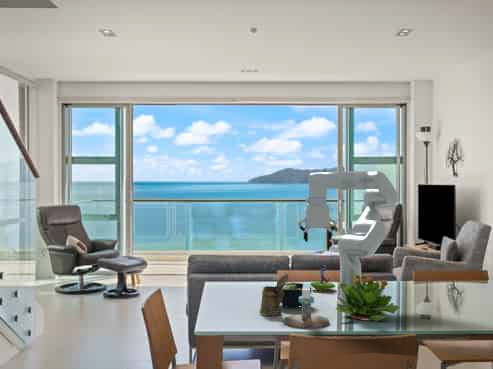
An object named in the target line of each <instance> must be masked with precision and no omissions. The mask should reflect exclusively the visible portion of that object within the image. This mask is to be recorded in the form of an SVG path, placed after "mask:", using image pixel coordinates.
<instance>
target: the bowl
mask: <svg viewBox="0 0 493 369" xmlns="http://www.w3.org/2000/svg"><path fill="white" fill-rule="evenodd" d="M276 286H277V285H275V286H274V287H276ZM282 289H283V293H284V295H283V299H282V301H281V303H280V304H282V306H283V307H284V306H287V307H299V306H302V303H299V297H300V296H302V289H303V283H301V282H300V283H299V282H289V283H288V282H286V283H285V284H284V285H283V286H282ZM311 294H312V286H310V295H311ZM278 296H279V297H280V294H279V295H278ZM287 307H286V308H287ZM299 308H300V307H299Z"/></svg>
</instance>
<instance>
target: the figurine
mask: <svg viewBox="0 0 493 369" xmlns="http://www.w3.org/2000/svg"><path fill="white" fill-rule="evenodd" d="M324 261H325V260H323V259H321V260H319V266H318V267H319V269H320V270H319V273H317V272H315V275H320V279H321V280H317V281H312V282H310V283H309V284H310V287H311V288H314V289H315V290H316V291H320V290H321V291H320V292H322V290H323V291H326V290H330V289H333V288H336V285H335V284H334V283H332V282H329V281H330V278H327V279H326V277H325V276H324V272H325V270H326V267H328V265H326V264H324Z"/></svg>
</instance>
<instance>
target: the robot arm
mask: <svg viewBox="0 0 493 369" xmlns="http://www.w3.org/2000/svg"><path fill="white" fill-rule="evenodd" d="M327 190H328V191H330V190H331V191H332V190H333V191H335V190H341V191H357V190H358V191H359V190H361V191H362V190H363V191H364V190H365V191H364V192H363V197H362V198H363V207H364V208H363V212H362V214H361V215H360V216H359V217H358V219H357V220H356V222H355V223H354V225H353V226H352V228H351V234H344V235H342V236H340V237H339V239H338V242H337V251H338V255H339V256H338V257H339V286H340V284H341V283H343V284H344V283H345V284H346V285H351V287H352V285H354V286H355V285H356V284H354V283H353V280H355V275H360V277H361V276H362V263H361V261H360V259H359V258H365V259H366V258H371V257H372V256H373V255H374V254H375V253H376V252H377V250H378V249H379V247H380V246H381V244H382V243H383V241H385V239H386V236H387V226H386V223H385V222H384V221H381V213H380V211H379V208H378V206H381V207H382V206H383V207H392V206H394V205H396V204H397V202H398V199H399V197H398V191H397V190H396V188H395V186H394V185H393V183H392V182H391V180H390V179H389V178H388V176H387V175H386V174H385V173H383V172H382V171H377V170H374V171H371V170H369V171H368V170H366V171H364V170H361V171H359V170H358V171H356V170H355V171H354V170H353V171H352V170H349V171H348V170H347V171H337V172H330V171H329V172H322V171H321V172H312V173H309V175H308V198H305V199H304V201H305V203H307V205H306V208H305V210H306V211H305V218H302V219H301V220H298V221H297V223H296V224H297V226H298V227H299V229H300V230H301V231H302V232H303V240H304V242H306V243H308V241H309V240H308V239H309V234H308V231H309V229H325V230H327V232H326V242H328V243H329V242H331V240H332V233H333V231H334V230H335V229H336V227H337V224H338V223H339V222H338V221H337V220H334V219H332V218H330V217H331V214H330V208H329V204H327ZM304 223H305V224H304ZM331 223H332V225H331ZM302 224H304V225H305V227H304V226H303V225H302ZM330 226H331V227H330ZM358 278H359V277H358ZM360 280H361V281H362V279H361V278H360ZM360 284H362V283H360ZM340 287H341V286H340ZM340 287H339V297H340V298H341V299H342V300H344V301H345V302H346V297H345V293H344V292H343V289H342V288H340ZM356 287H357V286H355V288H356ZM336 305H339V306H340V307H341V306H342V307H345V306H344V305H343V304H342V303H341V302H340V301H339V299H337V300H336Z"/></svg>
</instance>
